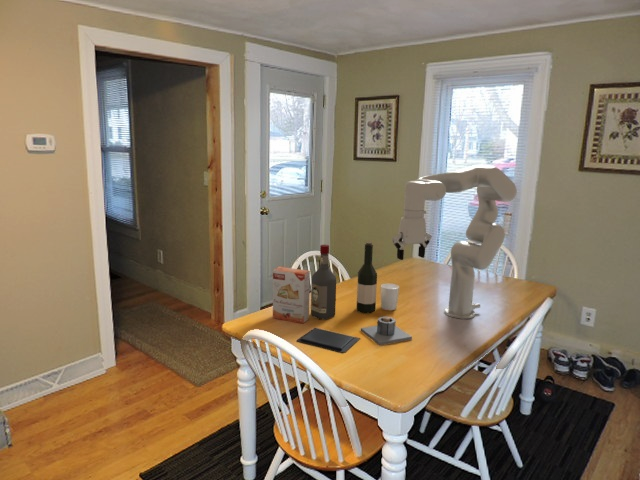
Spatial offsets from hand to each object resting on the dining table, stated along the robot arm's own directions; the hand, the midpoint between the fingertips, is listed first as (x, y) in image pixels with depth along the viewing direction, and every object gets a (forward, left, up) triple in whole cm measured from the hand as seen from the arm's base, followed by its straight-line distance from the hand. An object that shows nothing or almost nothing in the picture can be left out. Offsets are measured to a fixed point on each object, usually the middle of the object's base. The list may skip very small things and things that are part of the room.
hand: (410, 258), depth 182 cm
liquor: (+26, -23, -28) cm, 45 cm away
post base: (+12, +4, -28) cm, 31 cm away
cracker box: (+40, -24, -28) cm, 55 cm away
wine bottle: (+6, -22, -28) cm, 36 cm away
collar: (+12, +4, -27) cm, 30 cm away
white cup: (-5, -21, -28) cm, 36 cm away
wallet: (+34, 0, -29) cm, 45 cm away
